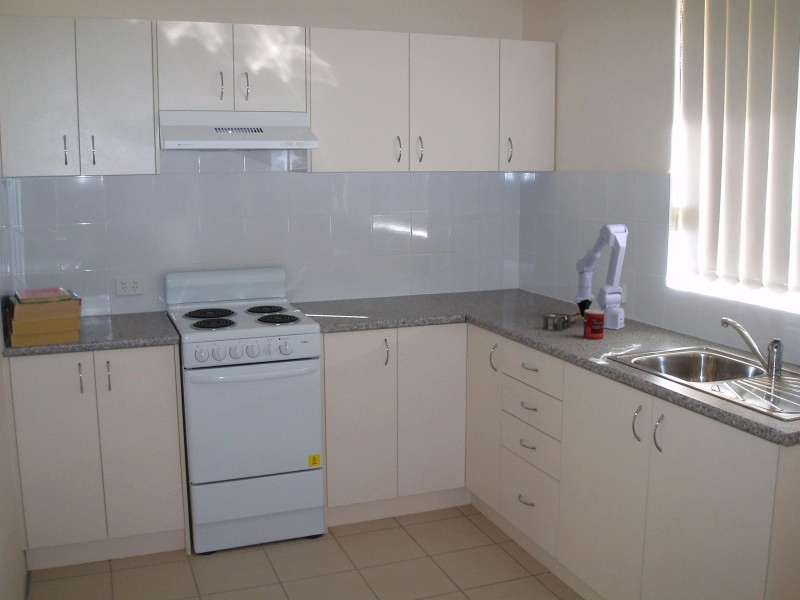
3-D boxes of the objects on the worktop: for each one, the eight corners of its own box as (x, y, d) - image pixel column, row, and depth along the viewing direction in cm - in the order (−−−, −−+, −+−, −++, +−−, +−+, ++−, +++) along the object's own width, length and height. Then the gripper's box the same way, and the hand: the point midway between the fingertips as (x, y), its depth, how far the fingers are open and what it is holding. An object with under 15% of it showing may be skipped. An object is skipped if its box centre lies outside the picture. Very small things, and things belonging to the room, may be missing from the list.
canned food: (588, 334, 338) (589, 308, 336) (606, 337, 333) (607, 310, 331) (580, 338, 332) (580, 311, 331) (598, 340, 327) (599, 313, 326)
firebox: (572, 327, 354) (572, 312, 353) (558, 331, 345) (558, 316, 344) (556, 325, 359) (556, 310, 358) (541, 329, 350) (542, 314, 349)
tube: (581, 321, 364) (581, 312, 364) (561, 327, 351) (561, 318, 350) (573, 320, 367) (573, 311, 366) (553, 326, 353) (553, 317, 353)
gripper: (584, 284, 376) (583, 313, 378) (568, 287, 365) (567, 318, 367) (598, 285, 371) (597, 315, 373) (583, 289, 360) (582, 319, 362)
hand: (583, 316), depth 370 cm, fingers closed
